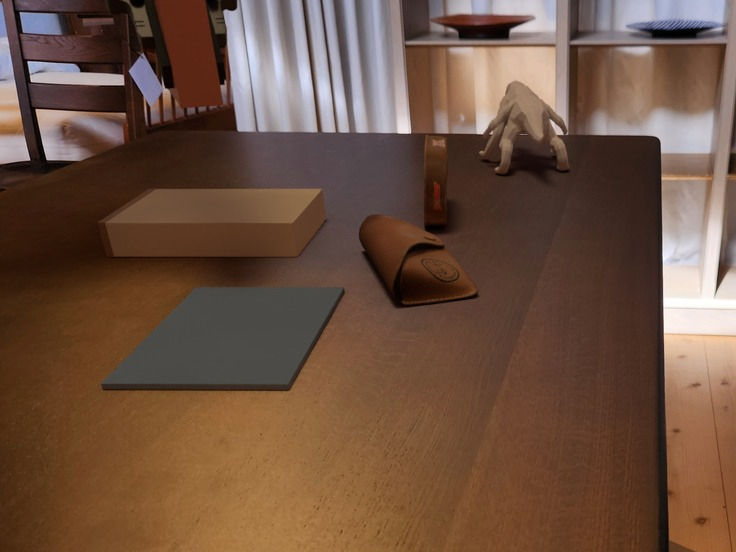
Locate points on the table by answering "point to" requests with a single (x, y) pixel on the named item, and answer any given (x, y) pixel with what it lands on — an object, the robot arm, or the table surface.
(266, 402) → the table surface
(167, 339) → the mat
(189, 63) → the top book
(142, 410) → the table surface
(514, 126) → the beige creature figurine
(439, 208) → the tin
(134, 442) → the table surface
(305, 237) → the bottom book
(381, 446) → the table surface
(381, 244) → the sunglasses case
